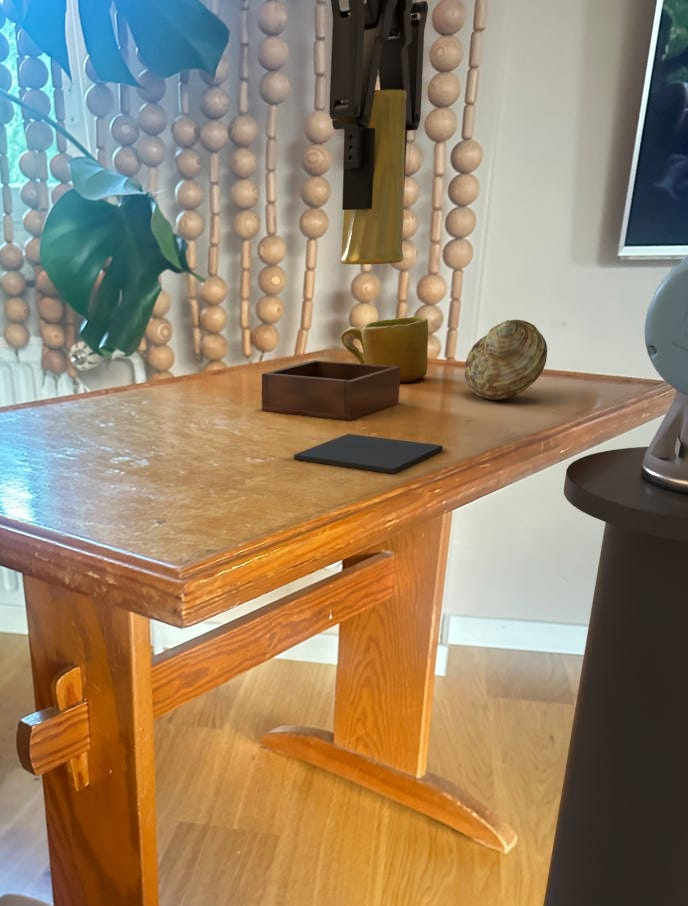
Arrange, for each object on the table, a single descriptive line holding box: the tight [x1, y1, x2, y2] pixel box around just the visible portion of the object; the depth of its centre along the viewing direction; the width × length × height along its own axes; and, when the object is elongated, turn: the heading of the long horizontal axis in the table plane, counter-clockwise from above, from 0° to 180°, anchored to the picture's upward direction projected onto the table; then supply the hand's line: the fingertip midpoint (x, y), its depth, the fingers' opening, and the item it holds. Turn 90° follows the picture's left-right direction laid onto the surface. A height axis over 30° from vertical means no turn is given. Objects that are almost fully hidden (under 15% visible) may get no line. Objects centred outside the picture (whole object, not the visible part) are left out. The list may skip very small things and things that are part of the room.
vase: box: [339, 89, 407, 265], centre depth 86 cm, size 6×6×14 cm
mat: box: [293, 433, 444, 475], centre depth 93 cm, size 11×11×1 cm
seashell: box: [464, 319, 548, 401], centre depth 117 cm, size 11×11×10 cm
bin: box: [261, 359, 401, 421], centre depth 115 cm, size 13×13×4 cm
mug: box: [340, 316, 429, 384], centre depth 133 cm, size 12×10×10 cm
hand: (373, 208), depth 87 cm, fingers closed on vase, 5 cm apart
